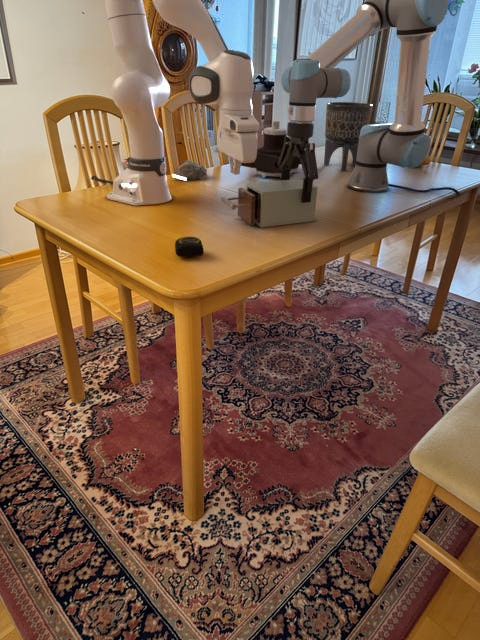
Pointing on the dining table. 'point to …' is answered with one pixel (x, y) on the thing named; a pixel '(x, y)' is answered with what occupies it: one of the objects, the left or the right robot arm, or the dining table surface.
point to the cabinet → (283, 202)
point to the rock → (191, 171)
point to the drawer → (246, 205)
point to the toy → (425, 162)
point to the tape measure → (189, 247)
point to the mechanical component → (272, 153)
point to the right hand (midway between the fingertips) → (294, 196)
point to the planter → (345, 128)
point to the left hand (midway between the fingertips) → (234, 173)
